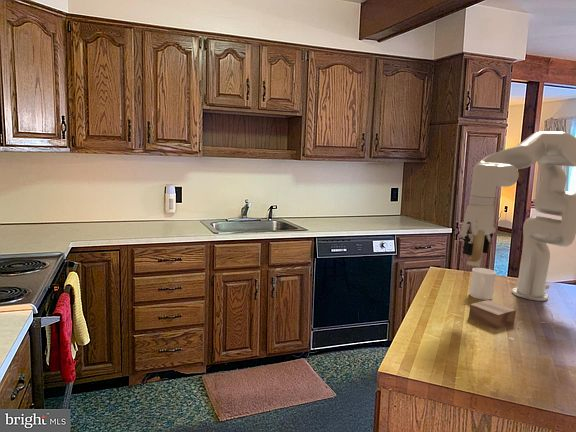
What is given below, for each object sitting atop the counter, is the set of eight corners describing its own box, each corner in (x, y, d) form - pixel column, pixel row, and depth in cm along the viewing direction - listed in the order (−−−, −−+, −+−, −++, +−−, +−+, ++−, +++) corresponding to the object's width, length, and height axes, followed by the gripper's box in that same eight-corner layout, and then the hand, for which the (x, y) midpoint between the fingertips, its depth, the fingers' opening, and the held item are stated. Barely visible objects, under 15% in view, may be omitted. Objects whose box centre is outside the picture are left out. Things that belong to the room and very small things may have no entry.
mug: (492, 305, 161) (496, 278, 160) (468, 300, 165) (471, 274, 163) (492, 295, 172) (495, 270, 170) (469, 291, 176) (472, 266, 174)
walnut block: (486, 313, 154) (488, 299, 153) (513, 324, 145) (516, 309, 145) (468, 318, 148) (470, 304, 148) (495, 329, 140) (497, 315, 139)
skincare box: (467, 260, 153) (472, 226, 151) (481, 262, 151) (485, 228, 149) (466, 265, 147) (470, 229, 145) (480, 267, 145) (484, 231, 143)
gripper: (489, 199, 153) (482, 248, 156) (454, 200, 144) (448, 252, 148) (509, 202, 146) (501, 254, 149) (473, 204, 138) (466, 258, 141)
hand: (475, 253), depth 148 cm, fingers closed on skincare box, 7 cm apart
